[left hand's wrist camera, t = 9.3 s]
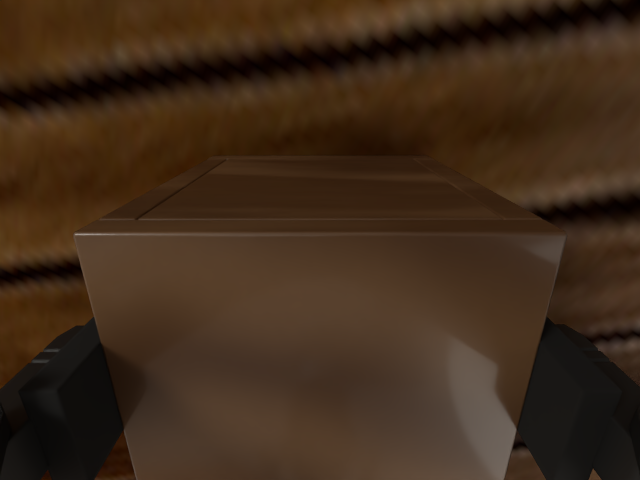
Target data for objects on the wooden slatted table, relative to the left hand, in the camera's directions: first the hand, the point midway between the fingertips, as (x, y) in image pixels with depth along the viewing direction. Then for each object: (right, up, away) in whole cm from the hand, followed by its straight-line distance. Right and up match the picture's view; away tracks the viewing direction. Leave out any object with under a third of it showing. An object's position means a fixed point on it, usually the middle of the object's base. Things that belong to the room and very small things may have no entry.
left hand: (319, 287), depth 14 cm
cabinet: (0, -4, +7) cm, 8 cm away
